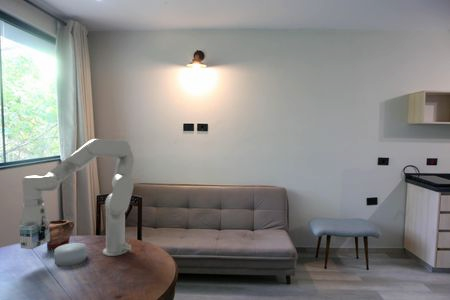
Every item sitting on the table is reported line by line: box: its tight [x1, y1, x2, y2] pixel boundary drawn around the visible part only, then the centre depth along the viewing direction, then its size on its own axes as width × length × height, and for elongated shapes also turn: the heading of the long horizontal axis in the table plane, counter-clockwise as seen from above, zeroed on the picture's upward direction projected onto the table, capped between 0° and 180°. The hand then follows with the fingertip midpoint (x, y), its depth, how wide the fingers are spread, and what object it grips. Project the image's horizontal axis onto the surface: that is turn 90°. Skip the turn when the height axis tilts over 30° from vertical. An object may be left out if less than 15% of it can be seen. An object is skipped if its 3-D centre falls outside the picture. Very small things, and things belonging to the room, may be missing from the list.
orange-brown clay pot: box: [46, 219, 75, 250], centre depth 162 cm, size 20×12×14 cm, turn 170°
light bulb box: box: [19, 219, 50, 250], centre depth 137 cm, size 11×7×11 cm, turn 169°
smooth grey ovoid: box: [53, 242, 87, 267], centre depth 145 cm, size 14×14×6 cm
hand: (35, 239), depth 137 cm, fingers closed on light bulb box, 6 cm apart
